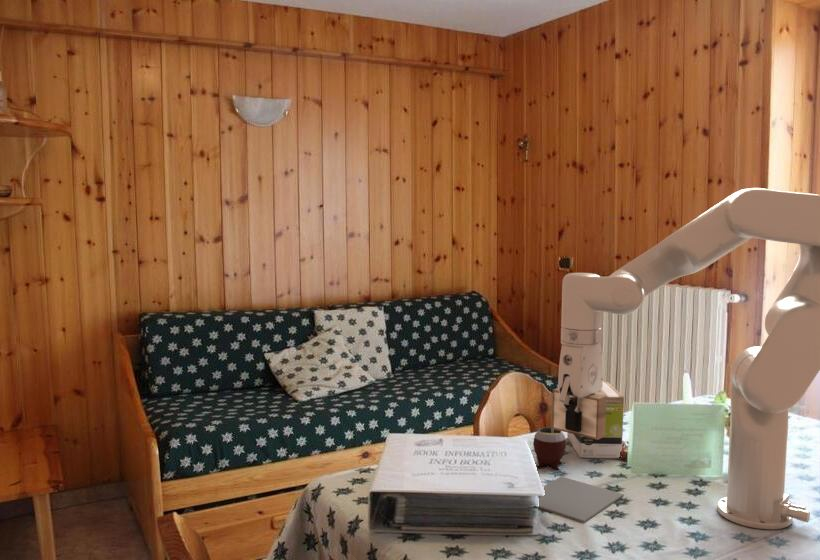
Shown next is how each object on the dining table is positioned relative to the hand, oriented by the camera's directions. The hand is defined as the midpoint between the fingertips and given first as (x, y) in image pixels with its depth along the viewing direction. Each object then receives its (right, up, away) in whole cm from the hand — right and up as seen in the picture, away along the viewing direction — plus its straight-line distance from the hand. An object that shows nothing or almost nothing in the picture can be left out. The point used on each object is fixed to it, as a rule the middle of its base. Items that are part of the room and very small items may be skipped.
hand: (578, 427), depth 139 cm
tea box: (+11, -11, +29) cm, 33 cm away
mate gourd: (-2, -12, +18) cm, 22 cm away
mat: (-1, -14, 0) cm, 14 cm away
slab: (0, -1, 0) cm, 1 cm away
